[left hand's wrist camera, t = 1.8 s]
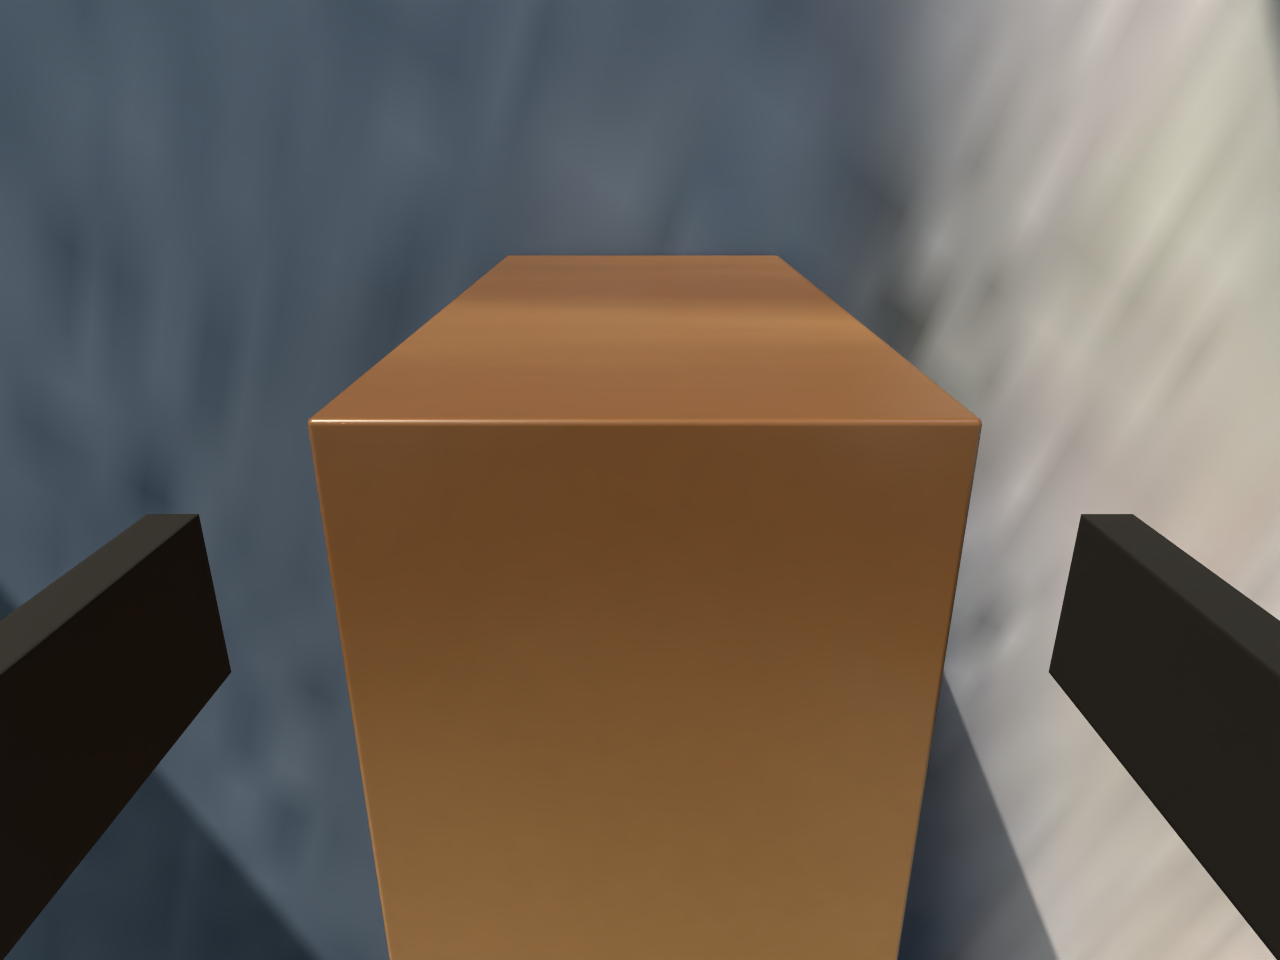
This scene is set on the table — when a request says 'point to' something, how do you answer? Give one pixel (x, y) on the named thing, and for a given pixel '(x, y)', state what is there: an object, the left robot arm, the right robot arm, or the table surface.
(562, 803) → the bar
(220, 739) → the table surface
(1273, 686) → the left robot arm
